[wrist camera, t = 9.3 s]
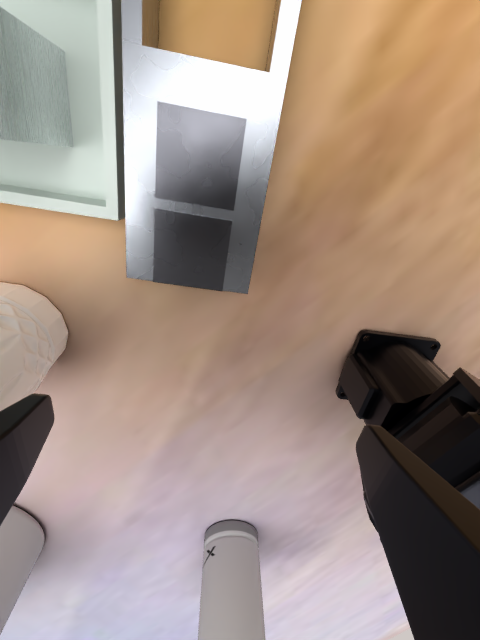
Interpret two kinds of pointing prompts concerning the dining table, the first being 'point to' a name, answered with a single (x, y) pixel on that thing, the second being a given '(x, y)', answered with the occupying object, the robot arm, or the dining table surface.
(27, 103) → the brushed aluminium bar
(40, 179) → the parts tray
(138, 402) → the dining table surface
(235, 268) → the rail
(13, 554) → the cylinder vase
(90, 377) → the dining table surface
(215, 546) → the travel mug
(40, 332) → the white cup
